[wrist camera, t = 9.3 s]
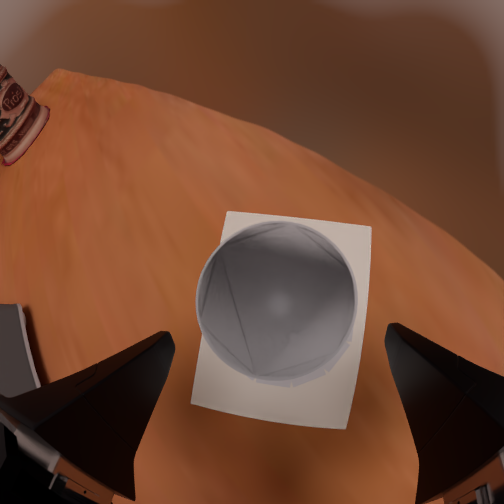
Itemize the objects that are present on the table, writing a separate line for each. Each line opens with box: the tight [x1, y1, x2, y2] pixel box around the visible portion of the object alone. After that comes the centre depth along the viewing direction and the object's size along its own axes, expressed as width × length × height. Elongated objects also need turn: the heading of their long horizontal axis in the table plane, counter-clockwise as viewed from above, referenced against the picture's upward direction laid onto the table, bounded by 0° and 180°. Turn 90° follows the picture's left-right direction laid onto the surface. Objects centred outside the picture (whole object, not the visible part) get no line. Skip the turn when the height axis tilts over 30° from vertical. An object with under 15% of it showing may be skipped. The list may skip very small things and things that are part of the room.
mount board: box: [191, 211, 371, 429], centre depth 19 cm, size 16×12×3 cm
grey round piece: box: [196, 221, 358, 381], centre depth 15 cm, size 6×6×11 cm
